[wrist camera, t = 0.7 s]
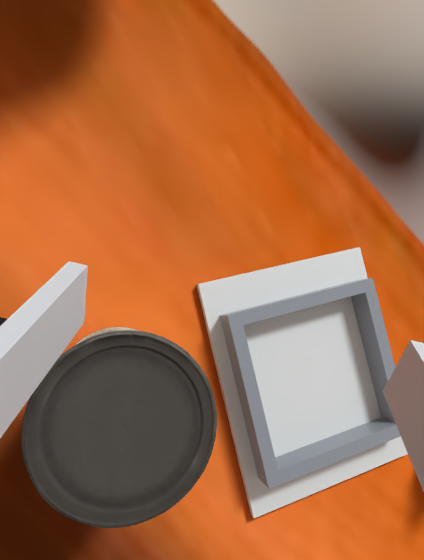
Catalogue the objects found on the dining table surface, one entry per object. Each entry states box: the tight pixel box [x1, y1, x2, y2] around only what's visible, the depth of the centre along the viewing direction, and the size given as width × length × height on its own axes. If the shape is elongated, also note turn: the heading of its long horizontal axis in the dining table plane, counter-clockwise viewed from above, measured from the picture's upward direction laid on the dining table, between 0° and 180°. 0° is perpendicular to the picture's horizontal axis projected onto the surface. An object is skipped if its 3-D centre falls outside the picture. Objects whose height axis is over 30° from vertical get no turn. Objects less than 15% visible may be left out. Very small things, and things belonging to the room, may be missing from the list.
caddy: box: [197, 247, 408, 518], centre depth 38 cm, size 22×18×3 cm
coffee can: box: [21, 327, 217, 528], centre depth 28 cm, size 10×10×14 cm
